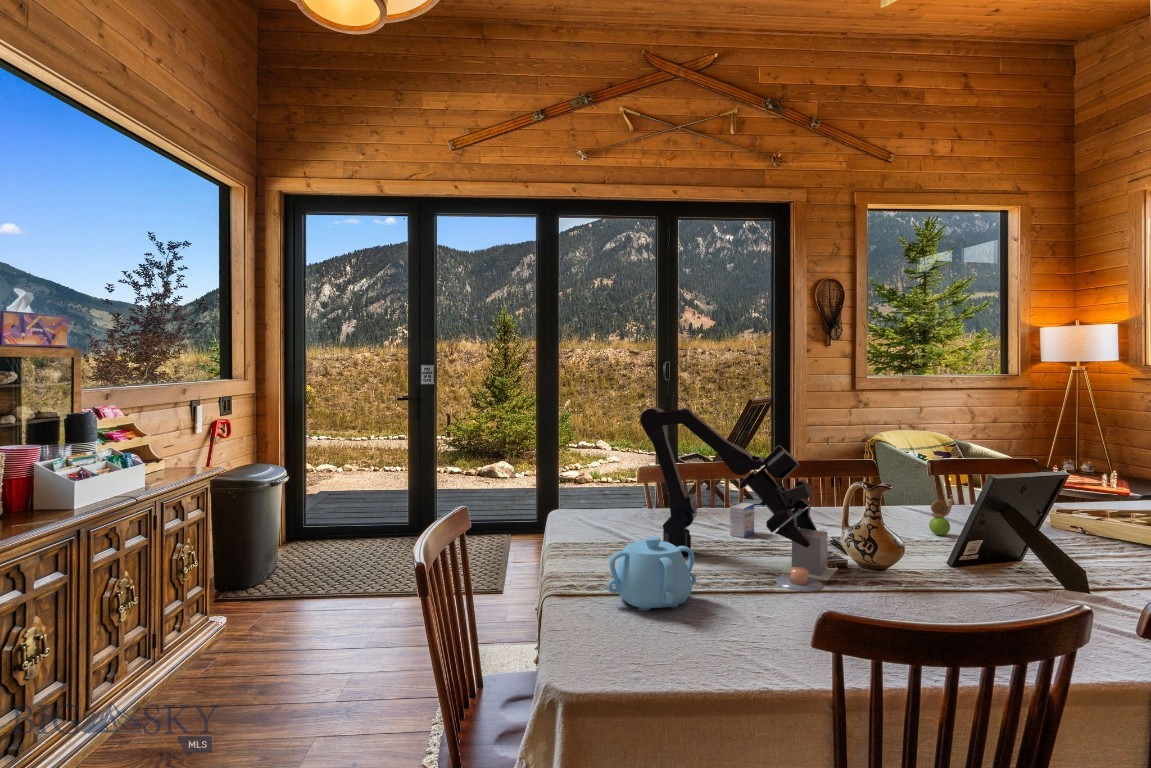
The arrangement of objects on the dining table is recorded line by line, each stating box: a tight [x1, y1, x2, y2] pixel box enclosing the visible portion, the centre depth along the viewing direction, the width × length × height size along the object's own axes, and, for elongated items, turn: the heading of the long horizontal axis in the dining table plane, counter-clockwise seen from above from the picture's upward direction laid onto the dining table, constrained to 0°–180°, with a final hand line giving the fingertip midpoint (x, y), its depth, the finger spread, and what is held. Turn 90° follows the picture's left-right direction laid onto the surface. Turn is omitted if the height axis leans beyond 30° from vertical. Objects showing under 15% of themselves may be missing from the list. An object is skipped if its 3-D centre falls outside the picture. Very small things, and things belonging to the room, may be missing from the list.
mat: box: [779, 560, 839, 582], centre depth 155 cm, size 11×11×1 cm
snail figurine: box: [928, 494, 955, 536], centre depth 188 cm, size 5×6×12 cm
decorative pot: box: [606, 535, 697, 612], centre depth 135 cm, size 16×16×14 cm
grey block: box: [791, 527, 829, 576], centre depth 155 cm, size 7×7×9 cm
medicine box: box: [729, 502, 755, 539], centre depth 188 cm, size 8×4×9 cm, turn 143°
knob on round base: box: [775, 567, 823, 593], centre depth 145 cm, size 10×10×4 cm
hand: (813, 541), depth 154 cm, fingers open, 9 cm apart
